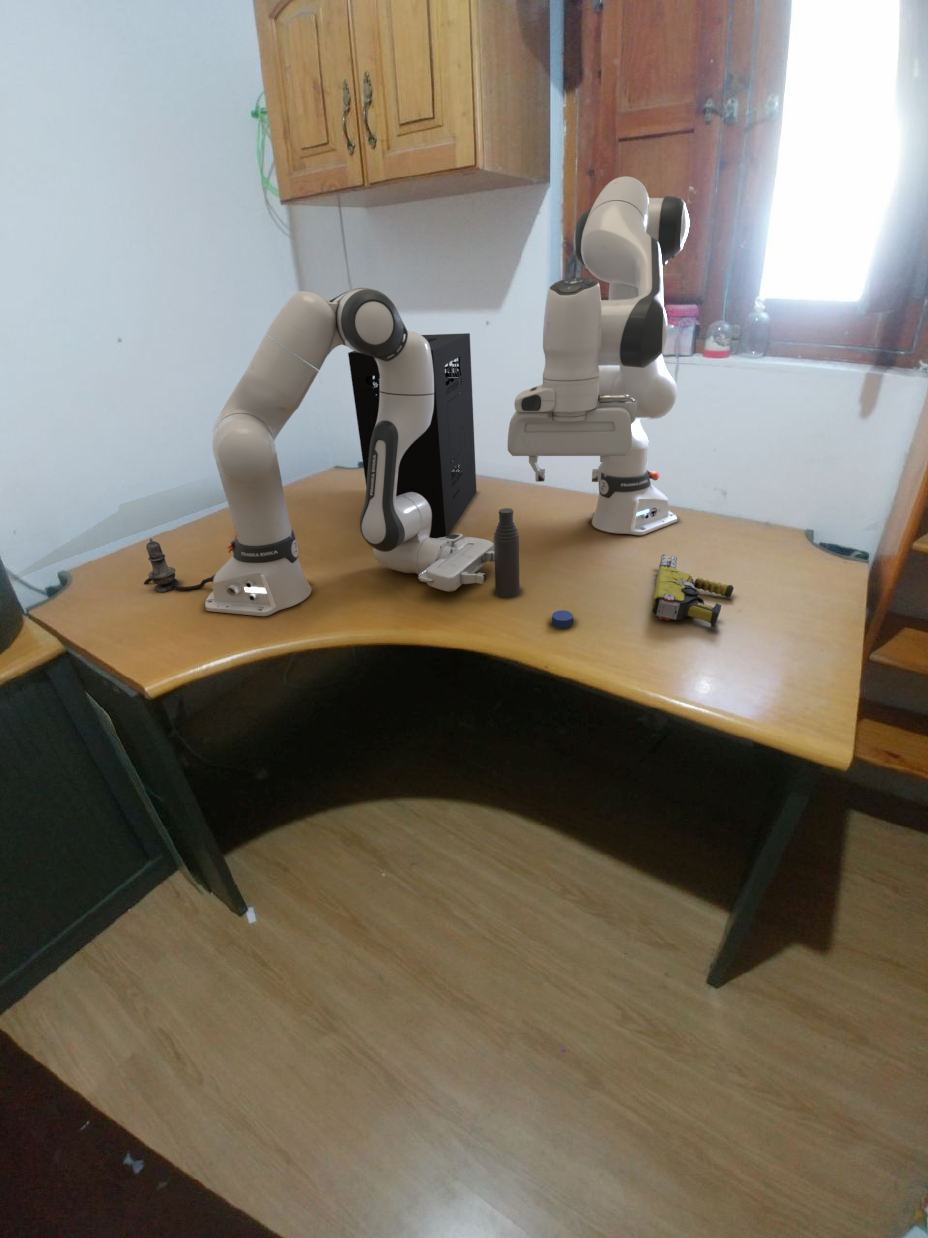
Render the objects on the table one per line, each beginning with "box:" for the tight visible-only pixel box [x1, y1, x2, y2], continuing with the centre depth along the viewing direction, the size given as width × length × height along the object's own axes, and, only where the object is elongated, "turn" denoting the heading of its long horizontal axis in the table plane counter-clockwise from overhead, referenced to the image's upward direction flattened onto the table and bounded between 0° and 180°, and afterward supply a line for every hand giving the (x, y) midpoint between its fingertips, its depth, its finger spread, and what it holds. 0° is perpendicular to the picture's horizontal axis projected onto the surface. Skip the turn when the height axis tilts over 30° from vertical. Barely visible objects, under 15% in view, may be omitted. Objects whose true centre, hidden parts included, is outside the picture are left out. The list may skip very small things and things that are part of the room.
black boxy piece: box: [347, 332, 477, 539], centre depth 163 cm, size 38×20×45 cm, turn 167°
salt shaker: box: [145, 538, 180, 593], centre depth 137 cm, size 6×6×12 cm
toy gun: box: [650, 553, 734, 628], centre depth 121 cm, size 5×24×15 cm
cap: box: [551, 610, 574, 629], centre depth 116 cm, size 4×4×2 cm
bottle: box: [493, 507, 520, 599], centre depth 125 cm, size 5×5×18 cm
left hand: (494, 569), depth 128 cm, fingers open, 8 cm apart
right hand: (567, 480), depth 103 cm, fingers open, 8 cm apart
